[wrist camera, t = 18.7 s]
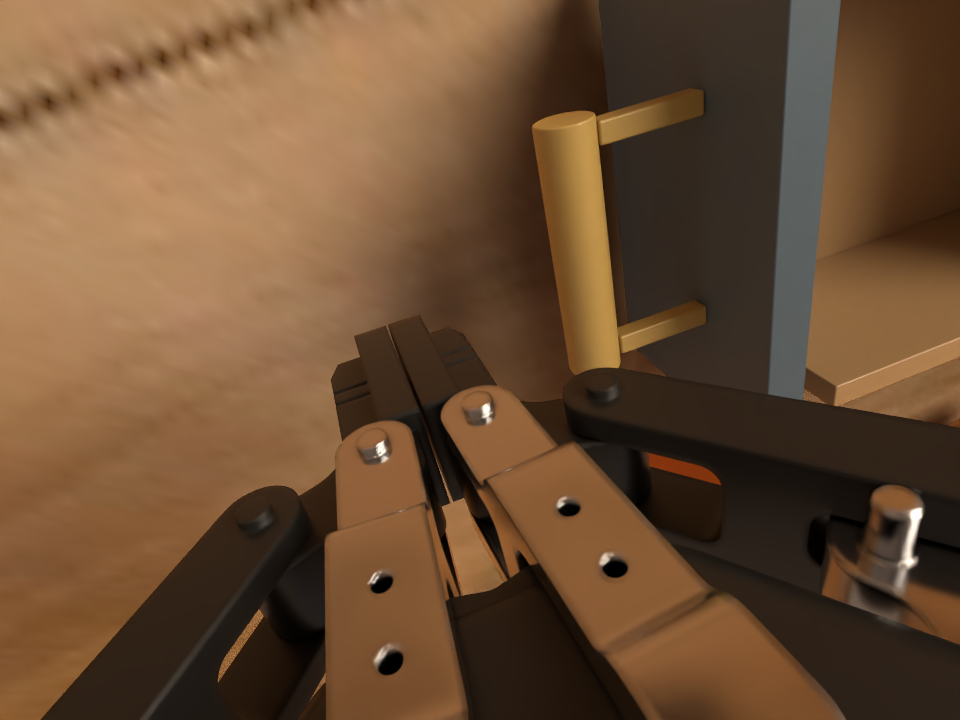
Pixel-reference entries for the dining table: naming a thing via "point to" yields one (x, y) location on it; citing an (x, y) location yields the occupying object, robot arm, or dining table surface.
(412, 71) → the dining table surface
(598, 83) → the dining table surface
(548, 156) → the drawer
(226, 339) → the dining table surface
